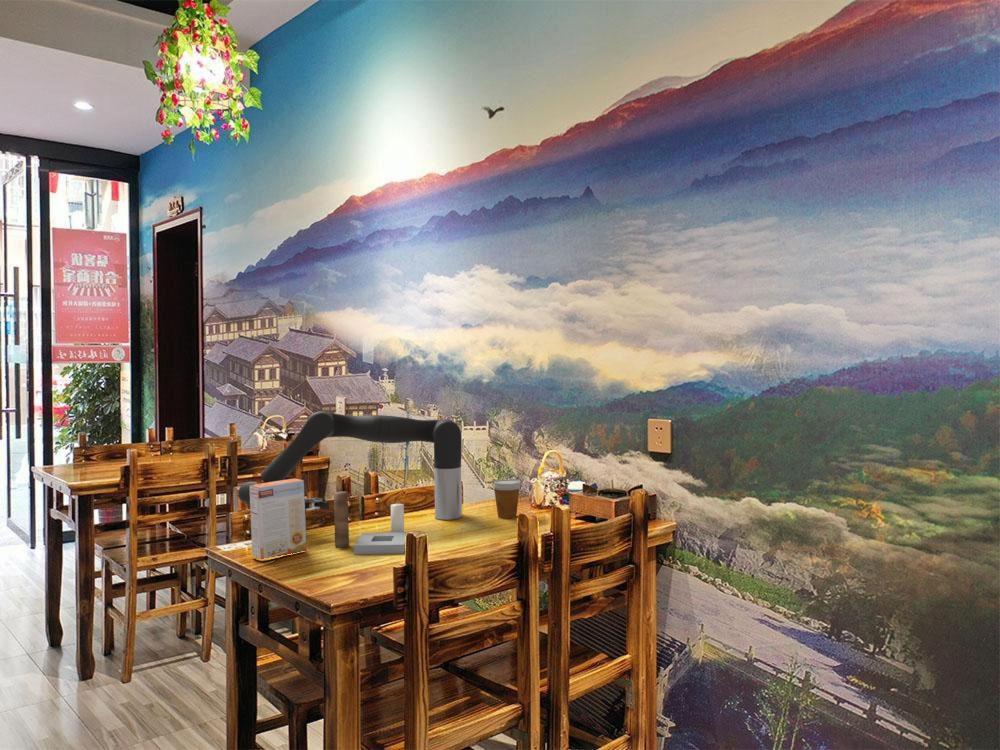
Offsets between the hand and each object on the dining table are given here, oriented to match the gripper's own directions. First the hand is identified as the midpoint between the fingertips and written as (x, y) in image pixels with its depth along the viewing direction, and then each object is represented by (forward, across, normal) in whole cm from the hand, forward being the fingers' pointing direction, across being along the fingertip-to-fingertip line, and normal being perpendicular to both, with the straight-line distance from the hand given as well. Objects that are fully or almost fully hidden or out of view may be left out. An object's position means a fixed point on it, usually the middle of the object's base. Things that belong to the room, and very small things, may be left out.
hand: (316, 508), depth 221 cm
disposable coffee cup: (+27, +58, +10) cm, 65 cm away
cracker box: (+4, -16, +10) cm, 20 cm away
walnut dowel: (+11, 0, +10) cm, 15 cm away
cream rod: (+17, +17, +10) cm, 26 cm away
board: (+21, +7, +10) cm, 24 cm away
